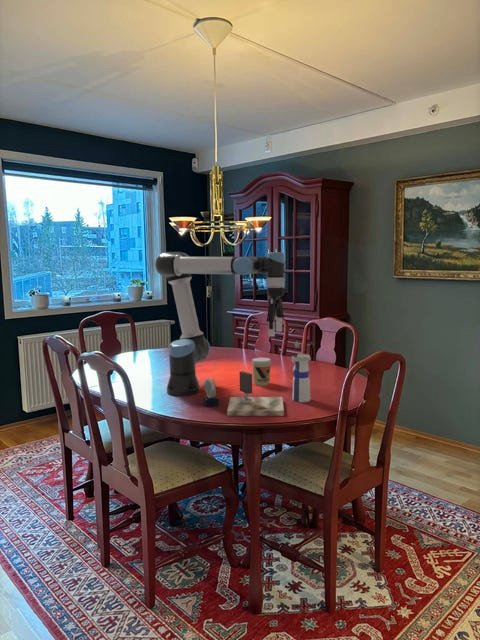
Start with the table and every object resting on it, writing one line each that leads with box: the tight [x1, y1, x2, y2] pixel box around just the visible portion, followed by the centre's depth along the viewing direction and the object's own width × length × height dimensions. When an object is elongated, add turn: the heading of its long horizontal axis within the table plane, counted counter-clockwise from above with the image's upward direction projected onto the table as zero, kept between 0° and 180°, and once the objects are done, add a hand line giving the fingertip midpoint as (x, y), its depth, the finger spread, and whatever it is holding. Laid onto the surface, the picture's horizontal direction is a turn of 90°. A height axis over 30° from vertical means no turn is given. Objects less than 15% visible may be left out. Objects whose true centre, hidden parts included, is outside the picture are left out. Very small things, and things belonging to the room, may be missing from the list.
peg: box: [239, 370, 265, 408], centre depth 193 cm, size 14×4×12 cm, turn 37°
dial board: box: [226, 396, 285, 417], centre depth 197 cm, size 22×18×2 cm
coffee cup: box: [251, 357, 272, 387], centre depth 233 cm, size 9×9×12 cm
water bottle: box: [291, 340, 312, 403], centre depth 206 cm, size 8×9×25 cm
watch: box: [202, 378, 220, 408], centre depth 202 cm, size 6×8×11 cm
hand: (275, 333), depth 219 cm, fingers open, 13 cm apart
